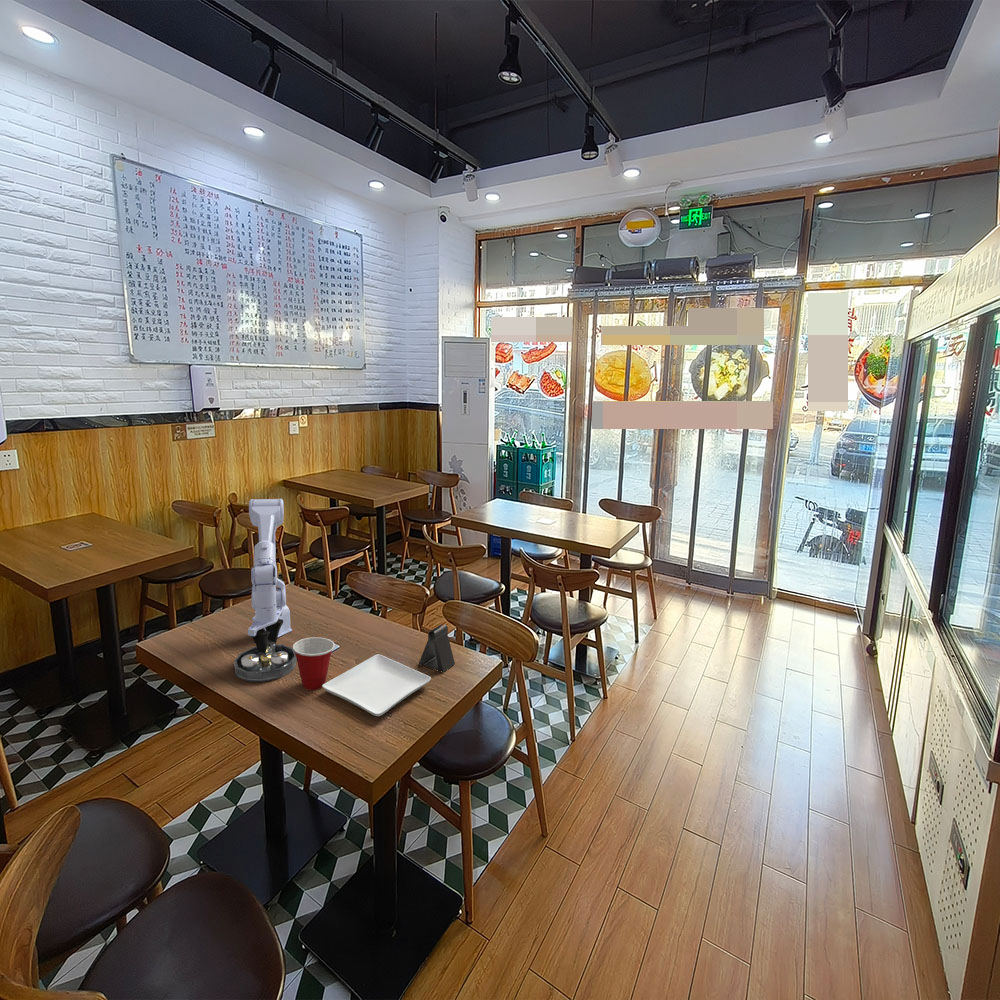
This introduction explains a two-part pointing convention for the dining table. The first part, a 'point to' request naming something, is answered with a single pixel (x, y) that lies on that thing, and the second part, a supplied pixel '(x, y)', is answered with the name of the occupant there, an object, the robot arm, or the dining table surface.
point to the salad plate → (377, 684)
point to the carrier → (265, 664)
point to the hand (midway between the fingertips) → (267, 647)
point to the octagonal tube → (269, 648)
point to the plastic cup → (313, 660)
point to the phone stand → (438, 650)
